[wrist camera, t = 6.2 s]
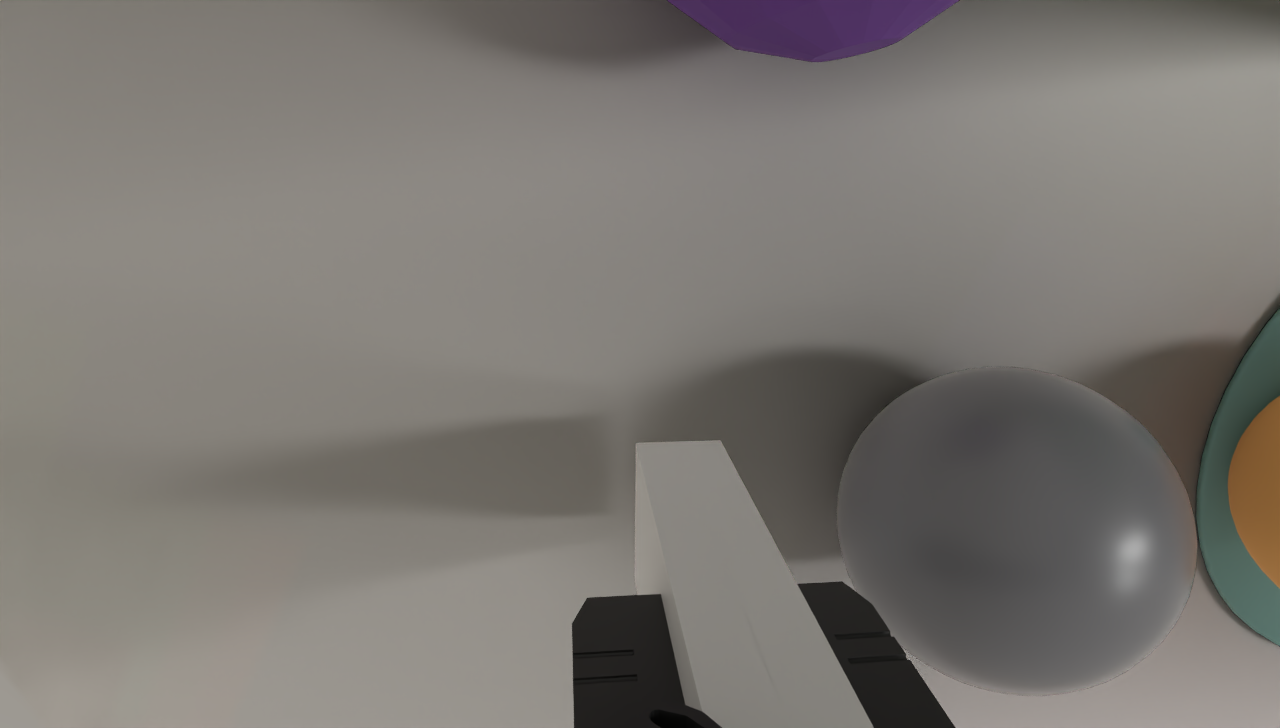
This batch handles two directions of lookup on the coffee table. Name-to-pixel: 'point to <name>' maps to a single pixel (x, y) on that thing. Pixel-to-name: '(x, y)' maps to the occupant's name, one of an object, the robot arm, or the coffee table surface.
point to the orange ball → (1258, 489)
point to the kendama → (811, 24)
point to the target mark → (1248, 591)
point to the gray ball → (1017, 531)
